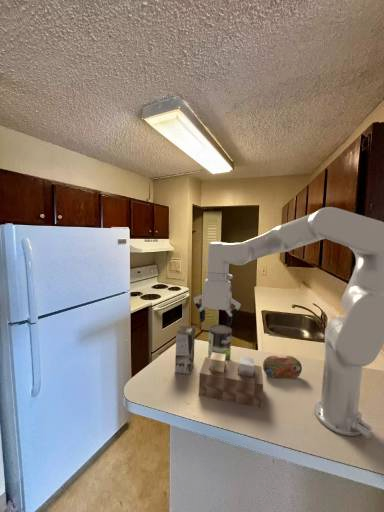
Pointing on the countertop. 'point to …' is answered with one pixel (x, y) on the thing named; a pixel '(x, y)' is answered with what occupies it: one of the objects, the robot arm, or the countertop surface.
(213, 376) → the sleeve block
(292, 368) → the tin
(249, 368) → the metal peg
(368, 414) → the countertop surface
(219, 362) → the beech peg
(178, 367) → the coffee box
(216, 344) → the coffee can
